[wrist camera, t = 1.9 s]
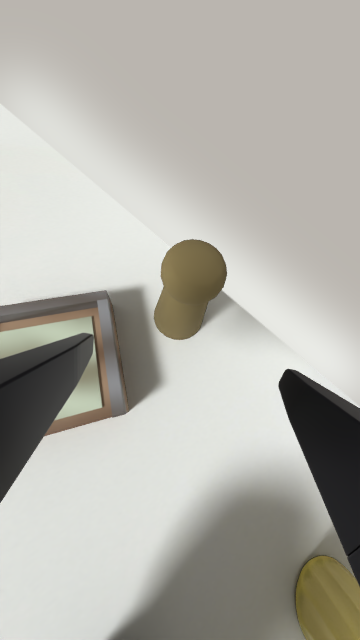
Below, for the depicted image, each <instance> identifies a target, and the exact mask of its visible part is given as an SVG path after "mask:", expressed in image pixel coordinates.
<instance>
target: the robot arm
mask: <svg viewBox="0 0 360 640" xmlns="http://www.w3.org/2000/svg"><path fill="white" fill-rule="evenodd" d="M93 345H94V336H93V334H89V333H80V334H77V335H74V336H71V337H68V338H65V339H61V340H58V341H55V342H52V343H49V344H46V345H42V346H39V347H36V348H33V349H30V350H27V351H24V352H20V353H17V354H14V355H11V356H8V357H5V358H1V359H0V503H1V501H2V500H3V498H4V497H5V495H6V494H7V492H8V490H9V489H10V487H11V486H12V484H13V483H14V481H15V480H16V478H17V477H18V475H19V474H20V472H21V471H22V469H23V467H24V466H25V464H26V463H27V461H28V460H29V458H30V457H31V455H32V454H33V452H34V451H35V449H36V448H37V446H38V444H39V443H40V441H41V440H42V438H43V437H44V435H45V434H46V432H47V431H48V429H49V428H50V426H51V425H52V423H53V421H54V420H55V418H56V417H57V415H58V414H59V412H60V411H61V409H62V408H63V406H64V405H65V403H66V401H67V400H68V398H69V397H70V395H71V394H72V392H73V391H74V389H75V388H76V386H77V384H78V382H79V381H80V379H81V377H82V375H83V373H84V371H85V369H86V367H87V365H88V363H89V360H90V358H91V356H92V354H93ZM279 390H280V393H281V396H282V399H283V402H284V406H285V409H286V412H287V415H288V418H289V420H290V423H291V425H292V428H293V430H294V432H295V435H296V437H297V440H298V442H299V444H300V447H301V449H302V451H303V454H304V456H305V459H306V461H307V463H308V466H309V468H310V470H311V473H312V475H313V477H314V480H315V482H316V485H317V487H318V489H319V492H320V494H321V496H322V499H323V501H324V503H325V506H326V508H327V511H328V513H329V515H330V518H331V520H332V522H333V525H334V527H335V530H336V532H337V534H338V537H339V539H340V541H341V544H342V546H343V548H344V551H345V553H346V555H347V556H348V557H347V558H348V561H349V563H350V566H351V568H352V570H353V573H354V575H355V577H356V580H357V582H358V585H359V587H360V408H358V407H356V406H355V405H353V404H351V403H350V402H348V401H346V400H345V399H343V398H341V397H340V396H338V395H336V394H335V393H333V392H331V391H330V390H328V389H326V388H325V387H323V386H321V385H320V384H318V383H316V382H315V381H313V380H311V379H310V378H308V377H306V376H305V375H303V374H301V373H300V372H298V371H296V370H292V369H286V370H285V372H284V373H283V375H282V377H281V379H280V381H279Z"/></svg>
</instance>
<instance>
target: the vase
mask: <svg viewBox="0 0 360 640" xmlns="http://www.w3.org/2000/svg"><path fill="white" fill-rule="evenodd" d="M296 610H297V616H298V620H299V623H300V626H301V629H302V632H303V634H304V636H305V638H306V640H360V587H359V585H358V582H357V580H356V579H355V577H354V576H353V575H352V574H351V573H350V572H349V571H348V570H347V569H346V568H345V567H344V566H343V565H342V564H341V563H339V562H338V561H337V560H335V559H334V558H331V557H328V556H317V557H314V558H312V559H311V560H309V561H308V562H307V563H306V564H305V566H304V567H303V569H302V571H301V573H300V576H299V579H298V583H297V587H296Z"/></svg>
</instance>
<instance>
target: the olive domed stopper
mask: <svg viewBox="0 0 360 640" xmlns="http://www.w3.org/2000/svg"><path fill="white" fill-rule="evenodd" d="M226 276H227V271H226V264H225V261H224V259H223V257H222V254H221V253H220V252H219V251H218V250H217V249H216V248H215V247H214V246H212V245H211V244H209V243H207V242H204V241H201V240H193V239H192V240H184V241H182V242H180V243H177V244H176V245H174V246H173V247H172V248H171V249H170V250H169V251H168V252H167V253H166V255H165V257H164V260H163V262H162V266H161V279H162V282H163V285H164V287H163V290H162V293H161V295H160V298H159V300H158V303H157V306H156V308H155V311H154V320H155V324H156V326H157V328H158V329H159V331H160V332H161V333H163V334H164V335H165V336H166V337H169V338H172V339H176V340H183V339H187V338H190V337H192V336H193V335H195V334H196V333H197V331H198V330H199V329H200V327H201V324H202V321H203V317H204V314H205V311H206V308H207V304H208V301H210V300H212V299H213V298H215V297H216V296H217V295H218V293H219V292H220V291H221V290H222V288H223V287H224V283H225V280H226Z"/></svg>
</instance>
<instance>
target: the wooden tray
mask: <svg viewBox="0 0 360 640" xmlns="http://www.w3.org/2000/svg"><path fill="white" fill-rule="evenodd" d="M80 333H89V334H93V336H94V345H93V354H92V356H91V358H90V360H89V363H88V365H87V367H86V369H85V371H84V373H83V375H82V377H81V379H80V381H79V382H78V384H77V386H76V388H75V389H74V391H73V392H72V394H71V395H70V397H69V398H68V400H67V401H66V403H65V405H64V406H63V408H62V409H61V411H60V412H59V414H58V415H57V417H56V418H55V420H54V421H53V423H52V425H51V426H50V428H49V429H48V431H47V432H46V434H45V435H44V436H47V435H50V434H54V433H57V432H61V431H64V430H68V429H71V428H75V427H78V426H82V425H85V424H89V423H92V422H96V421H99V420H103V419H107V418H110V417H112V418H113V417H117V416H120V415H124V414H126V413H127V412H129V408H128V401H127V395H126V389H125V382H124V376H123V370H122V363H121V357H120V350H119V344H118V338H117V331H116V325H115V319H114V312H113V306H112V303H111V301H110V298H109V296H108V294H107V291H106V290H105V291H99V292H92V293H85V294H79V295H72V296H65V297H59V298H52V299H45V300H38V301H32V302H25V303H18V304H12V305H5V306H0V359H1V358H5V357H8V356H11V355H14V354H17V353H20V352H24V351H27V350H30V349H33V348H36V347H39V346H42V345H46V344H49V343H52V342H55V341H58V340H61V339H65V338H68V337H71V336H74V335H77V334H80Z"/></svg>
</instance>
